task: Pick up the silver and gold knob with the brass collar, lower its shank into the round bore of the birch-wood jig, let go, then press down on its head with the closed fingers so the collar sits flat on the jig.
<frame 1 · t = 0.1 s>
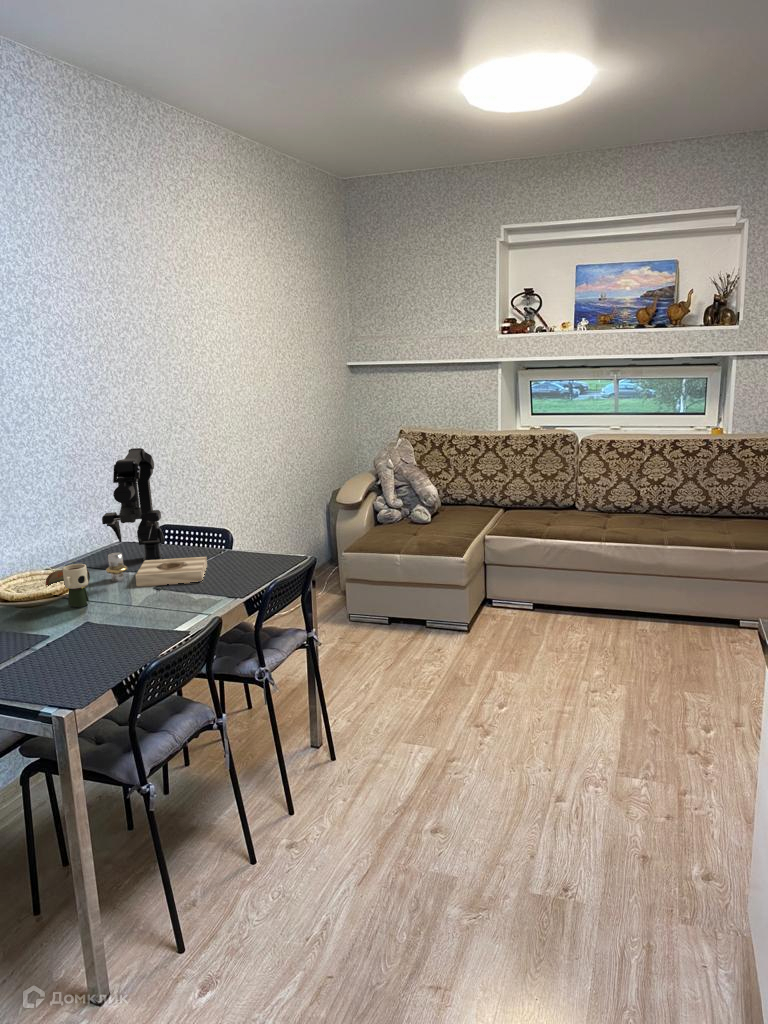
hand: (134, 541, 270), 15 cm above the table, tool pointing down, fingers open, 9 cm apart
silver and gold knob: (118, 580, 275), on the table
jig: (173, 576, 277), on the table
character mug: (79, 606, 250), on the table
tin: (69, 592, 264), on the table
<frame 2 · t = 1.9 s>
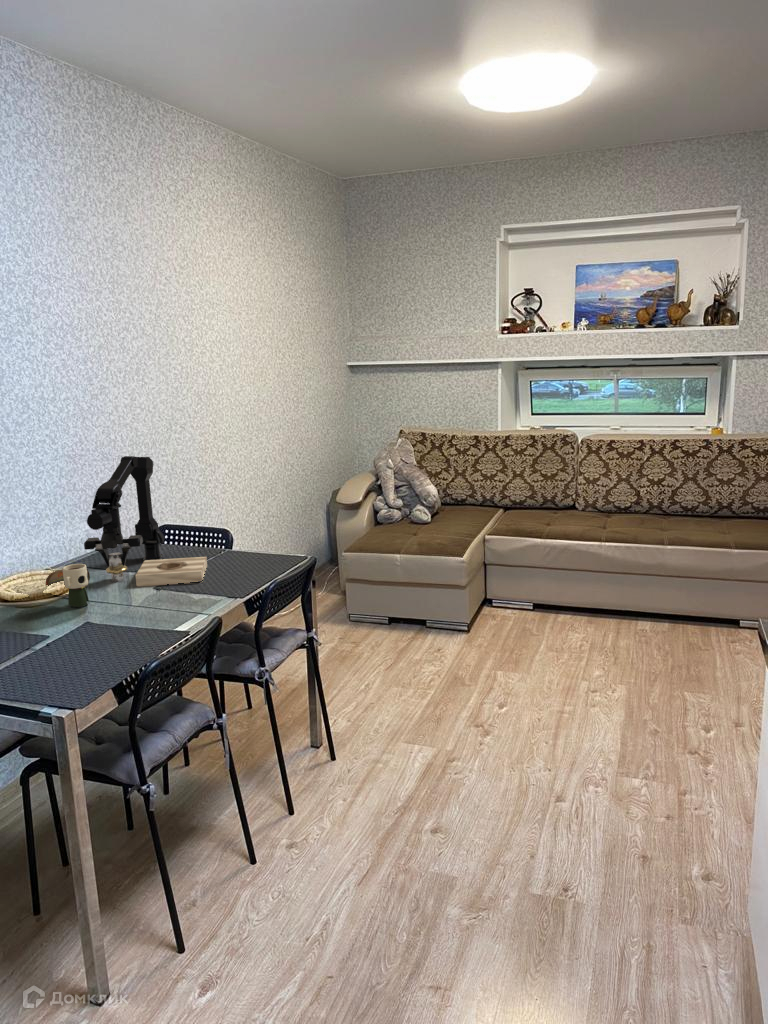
hand: (116, 565, 274), 5 cm above the table, tool pointing down, fingers closed on silver and gold knob, 5 cm apart
silver and gold knob: (117, 580, 275), on the table, touching gripper
everything else where it was.
when the fingers open (7 cm above the table, at t = 5.6 s): silver and gold knob drops 2 cm, resting on jig.
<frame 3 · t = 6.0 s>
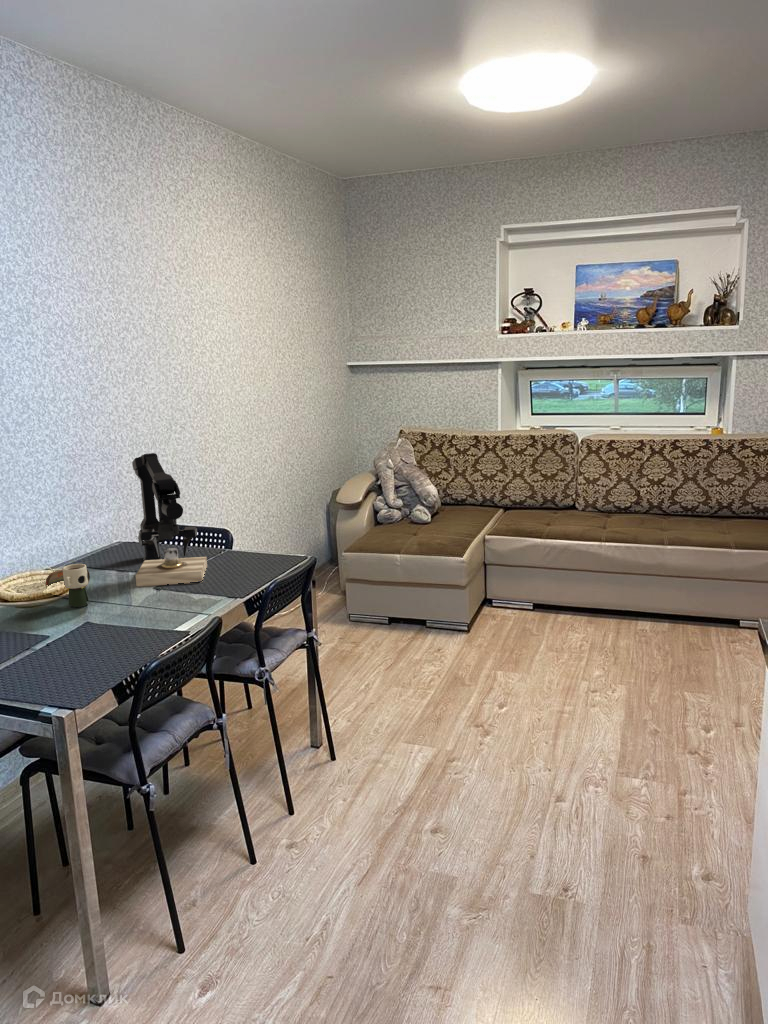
hand: (171, 557, 276), 7 cm above the table, tool pointing down, fingers open, 9 cm apart
silver and gold knob: (173, 575, 277), resting on jig
everything else where it was.
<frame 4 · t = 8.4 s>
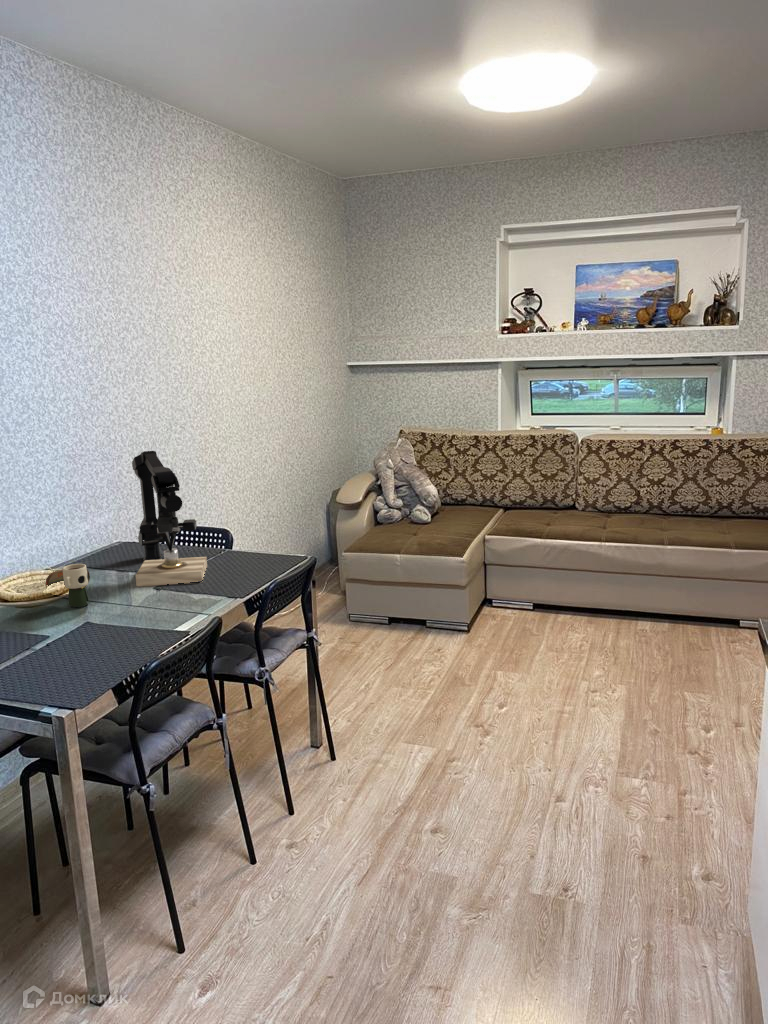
hand: (170, 550, 275), 10 cm above the table, tool pointing down, fingers closed, pressing on silver and gold knob
silver and gold knob: (173, 575, 277), resting on jig, touching gripper
everything else where it was.
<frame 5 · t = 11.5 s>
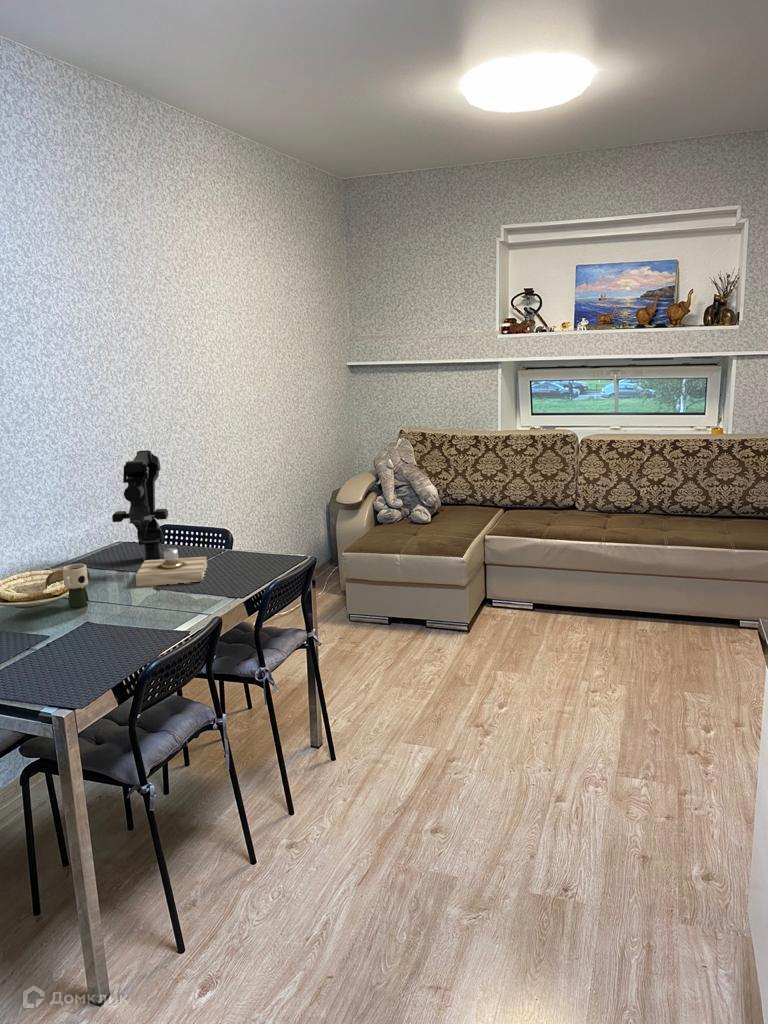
hand: (142, 538, 283), 12 cm above the table, tool pointing down, fingers closed
silver and gold knob: (173, 575, 277), resting on jig
everything else where it was.
at the end: silver and gold knob 0.1 cm off-centre on the jig, point 0.4 cm above the jig's base; silver and gold knob tilted 0°; the gripper is holding nothing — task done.
